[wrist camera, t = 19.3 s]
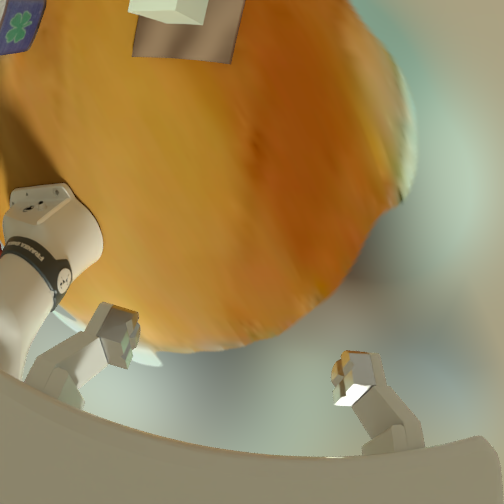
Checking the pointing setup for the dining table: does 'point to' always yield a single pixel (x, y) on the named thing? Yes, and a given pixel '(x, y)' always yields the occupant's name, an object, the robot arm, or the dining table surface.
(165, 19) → the cabinet block
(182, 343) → the dining table surface
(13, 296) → the robot arm
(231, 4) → the display stand
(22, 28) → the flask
